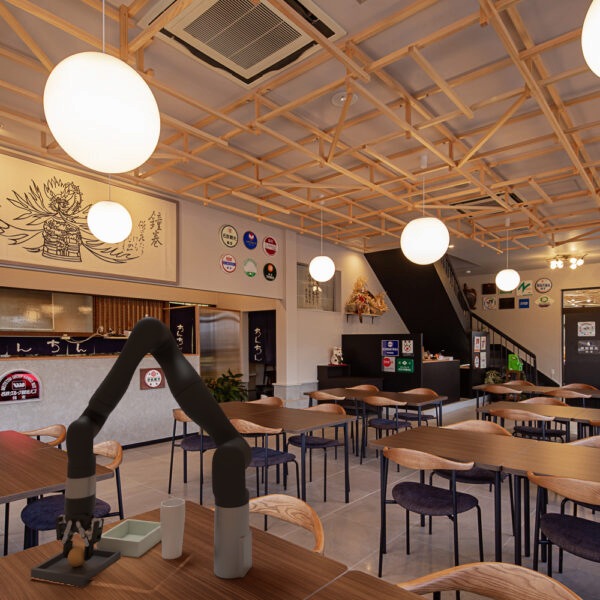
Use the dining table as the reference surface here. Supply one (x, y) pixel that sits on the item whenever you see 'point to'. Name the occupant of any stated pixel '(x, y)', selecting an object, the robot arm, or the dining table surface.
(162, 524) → the drinking glass
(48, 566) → the tray
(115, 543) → the open box
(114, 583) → the dining table surface
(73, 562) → the ball
